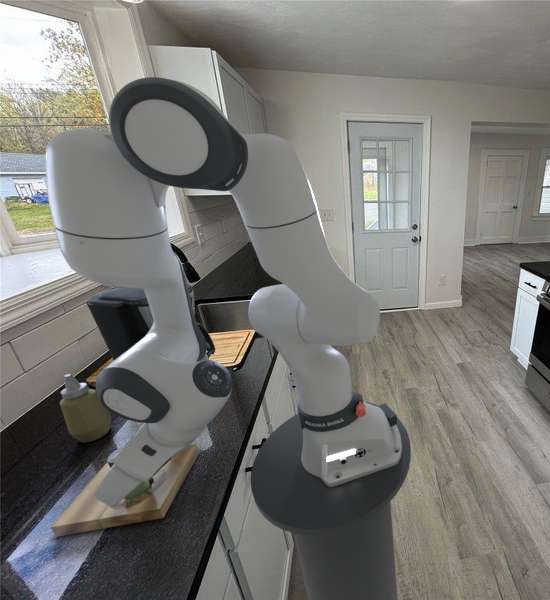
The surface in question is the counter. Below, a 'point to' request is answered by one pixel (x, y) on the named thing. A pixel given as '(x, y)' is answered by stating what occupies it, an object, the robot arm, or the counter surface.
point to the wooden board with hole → (145, 507)
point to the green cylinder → (140, 488)
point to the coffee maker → (129, 319)
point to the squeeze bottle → (83, 411)
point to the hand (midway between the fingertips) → (140, 466)
